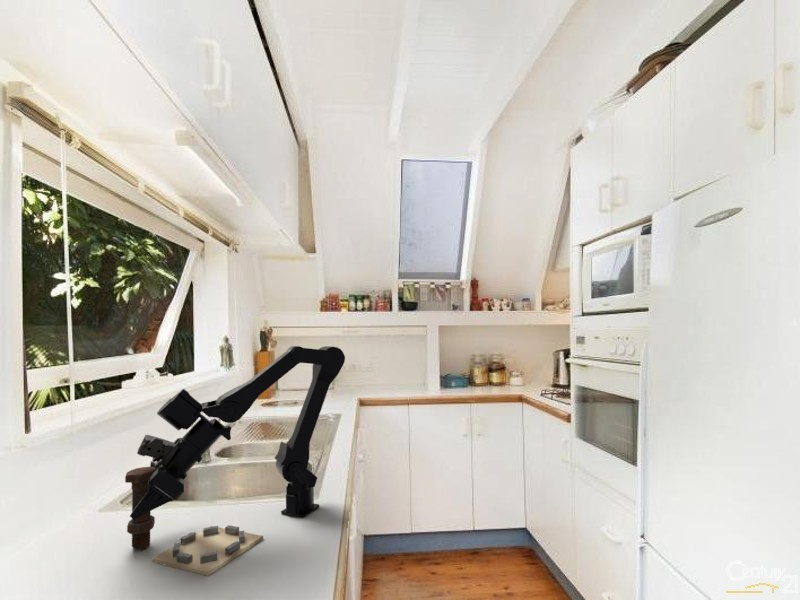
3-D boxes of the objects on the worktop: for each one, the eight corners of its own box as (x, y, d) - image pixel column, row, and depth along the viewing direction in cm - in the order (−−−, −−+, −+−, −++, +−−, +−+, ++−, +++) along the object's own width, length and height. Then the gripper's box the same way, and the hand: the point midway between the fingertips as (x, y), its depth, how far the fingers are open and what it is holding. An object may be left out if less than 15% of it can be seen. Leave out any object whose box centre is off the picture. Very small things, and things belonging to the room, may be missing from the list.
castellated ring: (211, 527, 92) (211, 521, 92) (258, 536, 87) (257, 530, 87) (157, 557, 80) (157, 550, 81) (208, 569, 76) (208, 562, 76)
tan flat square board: (211, 528, 93) (211, 525, 93) (263, 538, 87) (263, 535, 88) (151, 561, 80) (151, 558, 80) (208, 575, 75) (208, 572, 75)
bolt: (151, 538, 89) (152, 464, 90) (161, 545, 86) (162, 468, 87) (119, 550, 85) (120, 472, 86) (129, 558, 82) (130, 476, 83)
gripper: (164, 413, 97) (105, 472, 91) (164, 428, 81) (91, 501, 75) (203, 443, 100) (147, 502, 94) (210, 463, 84) (143, 536, 78)
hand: (133, 509), depth 85 cm, fingers open, 9 cm apart
